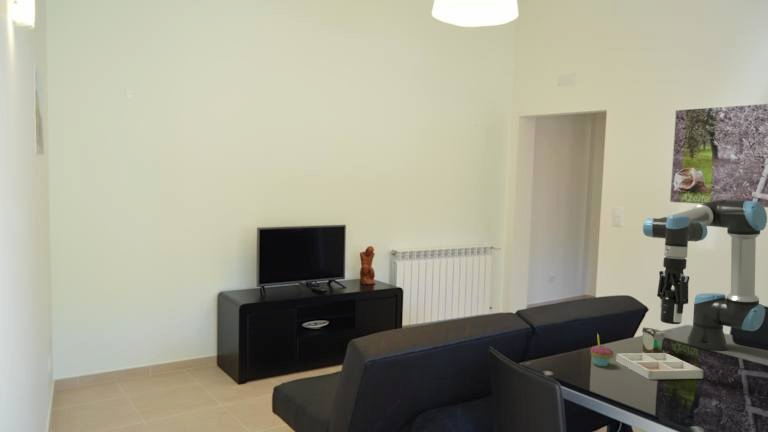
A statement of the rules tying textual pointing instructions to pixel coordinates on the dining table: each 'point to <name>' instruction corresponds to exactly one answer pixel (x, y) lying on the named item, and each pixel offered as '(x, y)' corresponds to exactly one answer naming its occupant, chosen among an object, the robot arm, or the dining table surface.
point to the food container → (652, 340)
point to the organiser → (659, 366)
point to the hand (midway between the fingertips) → (670, 319)
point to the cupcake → (601, 354)
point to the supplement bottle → (668, 307)
